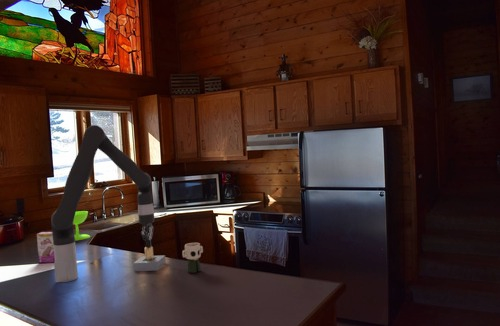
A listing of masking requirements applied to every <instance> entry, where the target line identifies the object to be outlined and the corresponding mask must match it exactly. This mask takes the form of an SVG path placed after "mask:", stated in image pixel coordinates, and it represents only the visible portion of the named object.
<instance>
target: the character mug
mask: <svg viewBox="0 0 500 326" xmlns="http://www.w3.org/2000/svg"><path fill="white" fill-rule="evenodd" d="M203 252H204V248H203V246H202V245H201V243H200V242H189V243H186V244H184V250H182V253H181V254H182V258H185V259H187V265H186V267H187V268H186V269H187V272H188V273H190V274H191V273H192V274H193V273H199V272H201V271H202V270H201V269H202V268H201V264H200V263H201V262H200V260H199V258H201V255H202V254H203Z"/></svg>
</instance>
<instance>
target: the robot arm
mask: <svg viewBox="0 0 500 326" xmlns="http://www.w3.org/2000/svg"><path fill="white" fill-rule="evenodd" d="M78 150H79V151H78V153H77V155H76V156H75V159H74V161H73V163H72V166H71V167H70V171H69V173H68V175H67V178H66V182H65V184H64V187H63V188H64V189H63V194H62V198H61V200H60V203H59V205H58V207H57V209H56V210H55V211H54V212H53V213H52V214H51V218H50V220H51V221H50V223H51V232H52V235H53V244H54V256H55V262H53V267H54V277H55V278H54V279H55V283H69V282H72V281H75V280H77V279H78V278H79V272H78V264H77V263H78V261H77V260H78V259H77V248H76V241H75V236H74V235H75V232H74V231H75V229H74V224H73V221H74V216H75V212H77V209H78V205H79V203H80V201H81V198H82V196H83V195H84V192H85V190H86V188H87V185H88V183H89V182H90V181H89V180H90V177H91V175H92V171H93V167H94V159H95V156H96V154H97V151H98V150H100V151H101V152H102V153H103V154H104V155H106V156H107V157H108V158H109V159H110V160H111V161H112V162H113V163H114V164H115V165H116V166H117V167H118V168H119V169H120V170H121V171H122V172H123V173H124V174H125V175H127V176H128V178H129V179H130V180H131V181H132V182H133V184H135V185H136V186H137V191H138V192H137V193H138V194H137V214H138V215H137V216H138V223H139V224H141V225H142V226H141V230H142V231H139V232H140V236H141V237H142V240H143V241H145V247H146V248H150V247H151V246H152V238H153V236H154V229H155V226H153V223H154V222H155V213H154V212H155V210H154V203H153V195H152V188H153V187H152V186H153V185H152V183H153V182H152V177H151V175H150V174H149V173H147V172H144V171H143V170H142V169H141V168H140V167H139V166H138V164H137V163H136V162H135V160H133V159H132V158H131V157H129V155H127V154H126V153H125V152H124V151H122V150H121V149H120V148H118V147H117V146H116V145H115V144H114V143H113V142H112V141H111V140H110V139H109V137H108V136H107V134H106V132H105V131H104V129H103V128H102V127H100V125H96V124H95V125H90V126H88V127H87V128H86V129H85V130H84V133H83V136H82V141H81V144H80V147H79V149H78Z"/></svg>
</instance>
